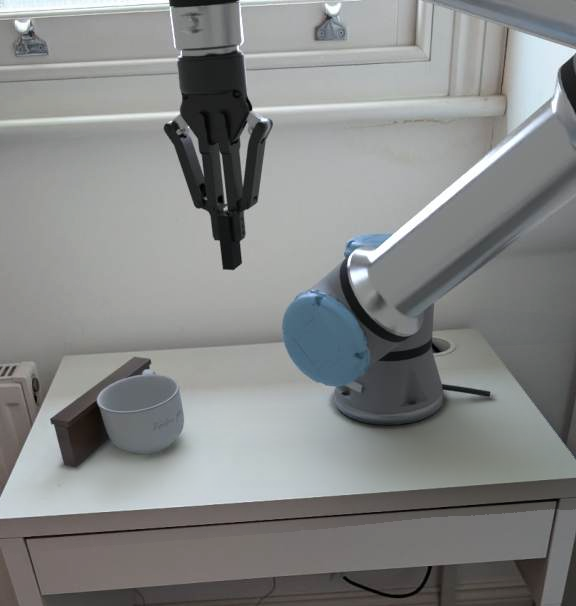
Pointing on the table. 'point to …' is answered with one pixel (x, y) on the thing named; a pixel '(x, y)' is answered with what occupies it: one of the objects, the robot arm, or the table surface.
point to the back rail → (89, 417)
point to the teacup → (142, 412)
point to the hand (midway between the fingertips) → (232, 266)
